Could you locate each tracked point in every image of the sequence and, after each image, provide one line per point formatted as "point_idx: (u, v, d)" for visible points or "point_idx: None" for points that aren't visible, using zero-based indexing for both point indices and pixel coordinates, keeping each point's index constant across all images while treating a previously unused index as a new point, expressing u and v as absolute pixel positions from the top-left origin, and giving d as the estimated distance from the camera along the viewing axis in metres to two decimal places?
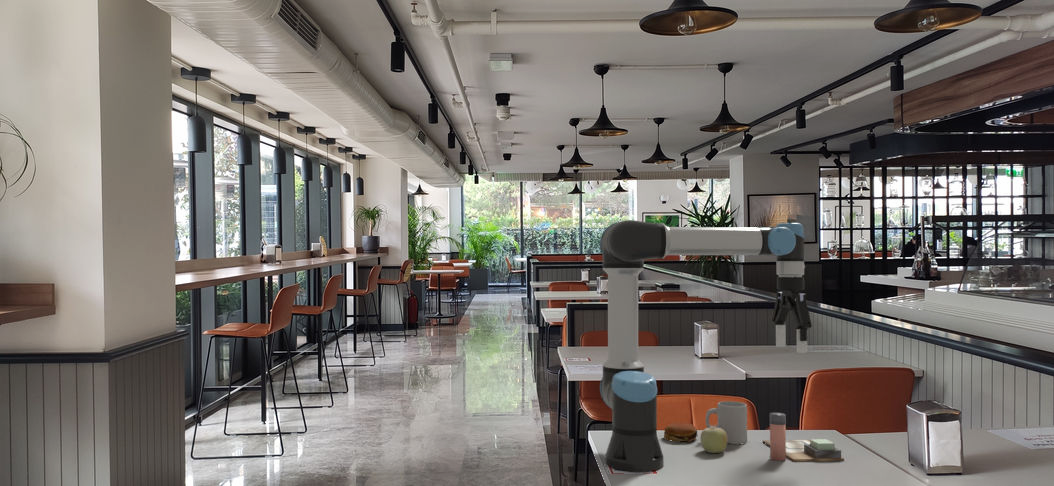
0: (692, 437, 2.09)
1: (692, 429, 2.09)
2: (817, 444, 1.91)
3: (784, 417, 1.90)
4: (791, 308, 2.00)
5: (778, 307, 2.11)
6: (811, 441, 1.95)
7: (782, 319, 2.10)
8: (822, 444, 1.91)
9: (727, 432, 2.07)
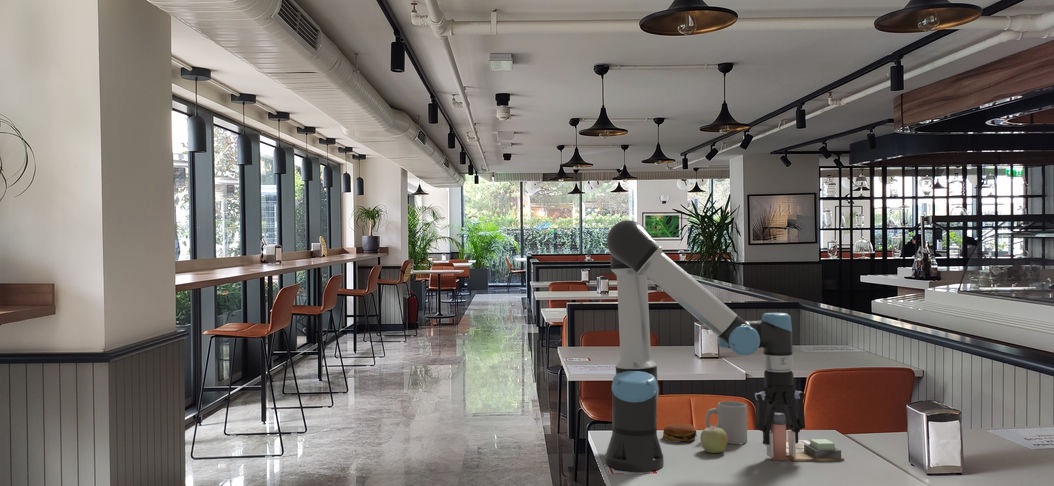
0: (691, 437, 2.09)
1: (691, 429, 2.09)
2: (817, 444, 1.91)
3: (785, 417, 1.90)
4: None
5: (796, 408, 1.93)
6: (811, 441, 1.95)
7: (791, 422, 1.91)
8: (822, 444, 1.91)
9: (727, 432, 2.07)
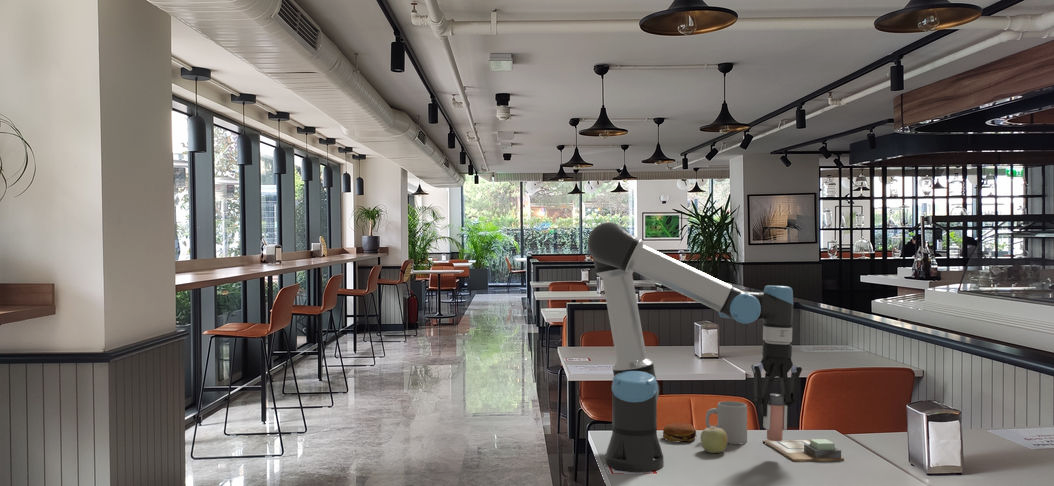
0: (691, 437, 2.09)
1: (691, 429, 2.09)
2: (817, 444, 1.91)
3: (782, 398, 1.90)
4: None
5: (791, 382, 1.93)
6: (811, 441, 1.95)
7: (784, 396, 1.92)
8: (822, 444, 1.91)
9: (727, 432, 2.07)
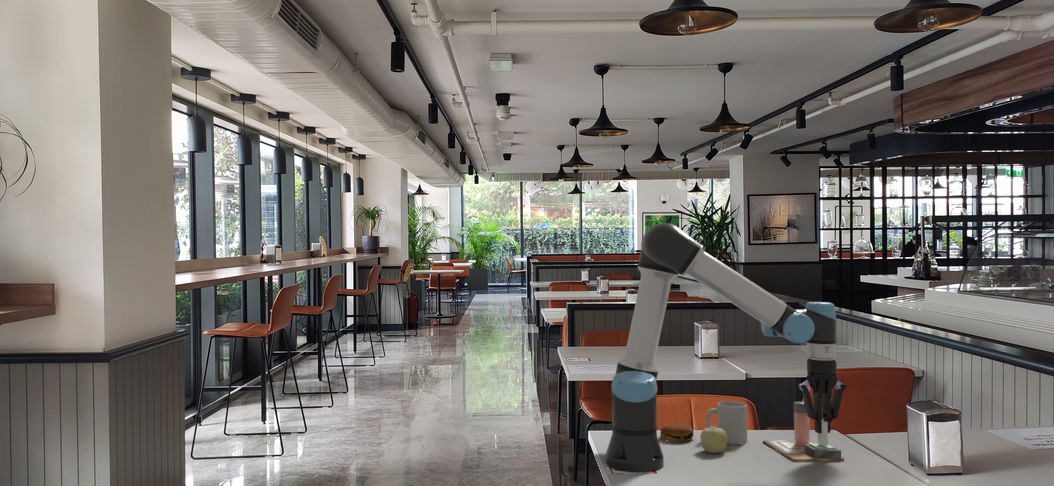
0: (688, 437, 2.09)
1: (688, 429, 2.09)
2: (817, 448, 1.91)
3: None
4: None
5: (833, 398, 1.94)
6: (811, 445, 1.95)
7: (825, 411, 1.93)
8: (822, 448, 1.91)
9: (727, 432, 2.07)
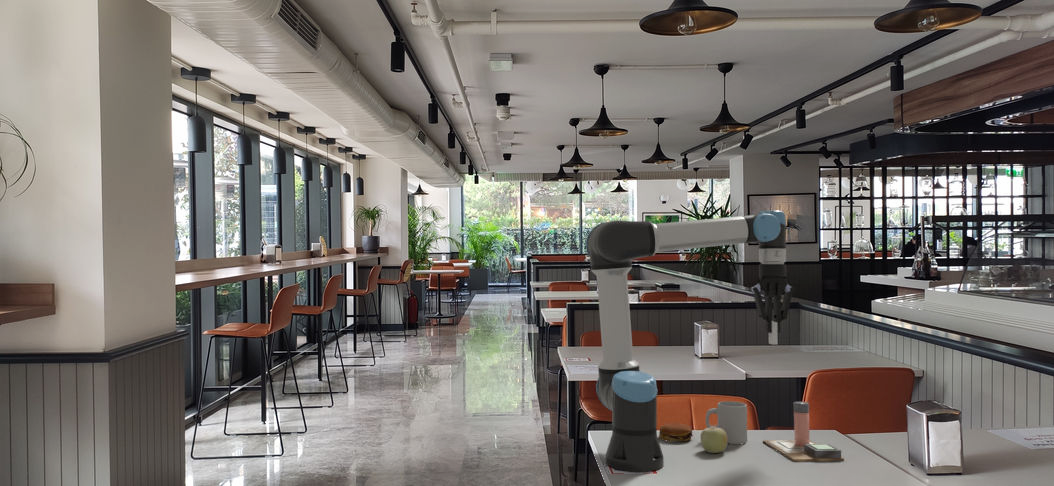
0: (687, 437, 2.09)
1: (687, 429, 2.09)
2: (817, 449, 1.91)
3: (807, 406, 2.01)
4: None
5: (783, 301, 2.08)
6: (811, 446, 1.95)
7: (775, 313, 2.06)
8: None
9: (727, 432, 2.07)
